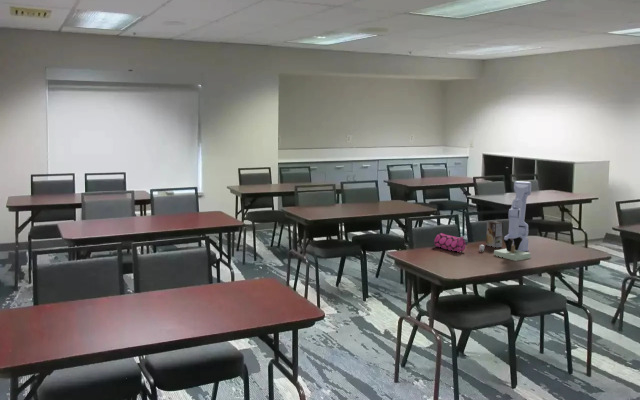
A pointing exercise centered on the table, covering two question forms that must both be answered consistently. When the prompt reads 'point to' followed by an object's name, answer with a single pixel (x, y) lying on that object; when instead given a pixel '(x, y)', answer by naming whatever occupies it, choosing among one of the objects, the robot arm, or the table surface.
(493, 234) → the coffee box
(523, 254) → the board
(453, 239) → the pink foam roller
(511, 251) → the long pin
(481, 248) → the short pin
